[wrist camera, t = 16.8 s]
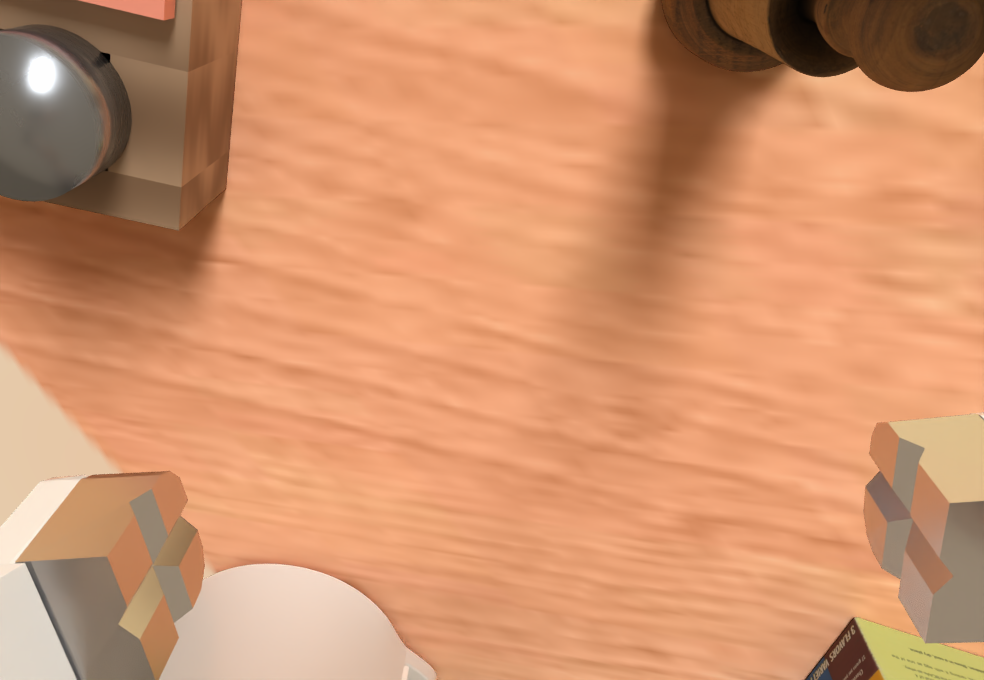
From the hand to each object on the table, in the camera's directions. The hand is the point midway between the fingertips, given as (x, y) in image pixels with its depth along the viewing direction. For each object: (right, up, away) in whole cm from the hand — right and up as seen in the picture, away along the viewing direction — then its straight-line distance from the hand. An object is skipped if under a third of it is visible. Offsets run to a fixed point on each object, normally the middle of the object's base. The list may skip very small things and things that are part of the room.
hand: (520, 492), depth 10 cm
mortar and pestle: (+10, +17, +24) cm, 31 cm away
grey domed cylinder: (-16, +13, +25) cm, 33 cm away
